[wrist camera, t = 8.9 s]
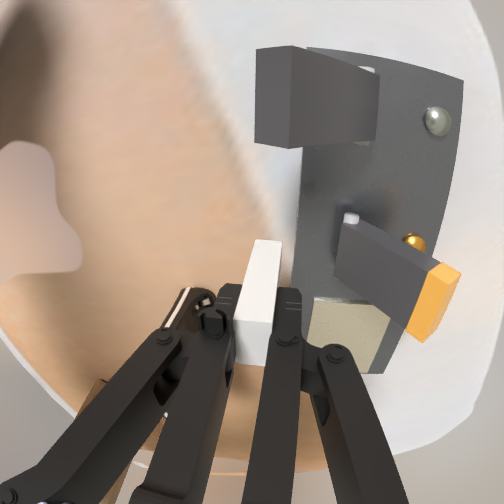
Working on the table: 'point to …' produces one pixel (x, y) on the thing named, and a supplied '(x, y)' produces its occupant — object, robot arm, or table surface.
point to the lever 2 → (394, 276)
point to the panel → (374, 200)
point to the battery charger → (188, 312)
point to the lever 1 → (313, 99)
